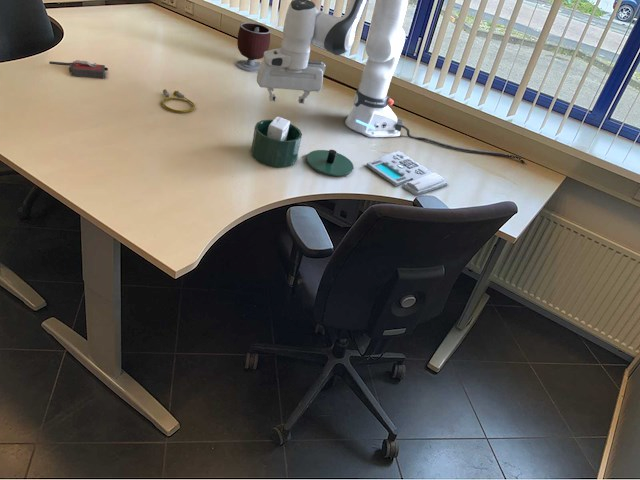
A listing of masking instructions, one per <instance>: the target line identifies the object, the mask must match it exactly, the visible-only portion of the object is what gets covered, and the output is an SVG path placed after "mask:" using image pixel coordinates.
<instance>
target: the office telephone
mask: <svg viewBox="0 0 640 480" xmlns="http://www.w3.org/2000/svg"><path fill="white" fill-rule="evenodd" d="M366 167H368V168H369V169H370V170H372V171H373V172H374V173H376V174H377V175H379V176H380V177H382V178H383V179H385V180H386V181H387V182H389V183H391V184H392V185H394V186H395V187H399V186H400V185H403V186H402V187H403V188H404V189H406V190H407V191H408V192H410V193H411V194H413V195H414V196H420V195H423V194H426V193H429V192H431V191H435V190H438V189H440V188H442V187H445V186H447V185H448V183H449V182H448V181H447V180H445V179H444V177H442V175H440V174H439V173H437V172H433V171H431V170H430V169H428V168H427V167H425V166H424V165H422V164H420V163H419V162H417V161H416V160H414V159H413V158H412V157H410V156H408V155H407V154H406V153H404V152H402V151H401V150H397V151H394V152H391V153H387V154H384V155H382V156H381V157H380V158H378V159H375V160H372V161H367V163H366Z"/></svg>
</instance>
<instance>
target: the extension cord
mask: <svg viewBox="0 0 640 480" xmlns="http://www.w3.org/2000/svg"><path fill="white" fill-rule="evenodd" d="M162 94H163V96H164V97H165V98H164V99H162V101H161V102H160V105H161V107H162V108H163V109H165V110H167V111H169V112H171V113H172V112H173V113H176V114H177V113H178V114H187V113H189V112H192V111H194V110H195V106H196V105H195V103H194V102H193V101H192V100H190V99H188V98H186V97H185V94H183V93H182V92H180V91H179V90H174V91H173V96H175V97H170V92H169V91H168V90H167V89H163V90H162ZM172 100H173V101H180V102H184V103H187V104H189V105H191V108H188V109H182V110H179V109H175V108H171V107H169V106H167V105H166V104H164V103H165V102H167V101H172Z"/></svg>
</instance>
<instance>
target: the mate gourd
mask: <svg viewBox="0 0 640 480" xmlns="http://www.w3.org/2000/svg"><path fill="white" fill-rule="evenodd" d="M236 44H237V50H238V52H239V53H240V55H242V56H243V57H245V58H246V59H240V60H239V59H238V60H237V61H236V63H235V65H236V67H237V68H238V69H240V70H242V71H245V72H249V73H250V72H251V73H258V70H259V66H260V63H261V62H260V63H259V62H257V61H255V60H260V59H261V60H262V59H264V52H265V51H268V50H269V48H270V44H271V29H270V28H269V27H267V26H266V25H263V24H260V23H256V22H242V23H240V26H239V29H238V33H237V43H236Z"/></svg>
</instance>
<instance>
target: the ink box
mask: <svg viewBox="0 0 640 480" xmlns="http://www.w3.org/2000/svg"><path fill="white" fill-rule="evenodd" d="M272 120H273V121H272V122H271V123H270V125H269V128H268V134H267V137H269V138H272V139H276V140H282V141H286V139H287V134H288V129H289V125H290V124H291V120H289V119H286V118H283V117H280V116H276V117H275V118H274V119H272Z"/></svg>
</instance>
